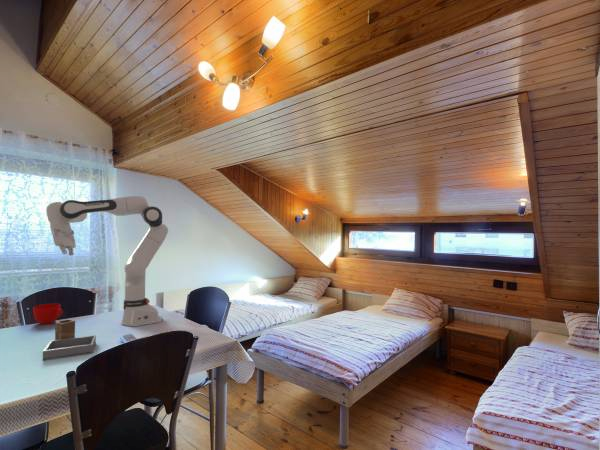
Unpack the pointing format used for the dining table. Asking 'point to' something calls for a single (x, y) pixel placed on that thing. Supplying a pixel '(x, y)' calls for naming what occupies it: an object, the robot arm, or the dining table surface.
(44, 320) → the ceramic cup
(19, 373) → the dining table surface
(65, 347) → the grey crate
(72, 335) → the walnut crate
